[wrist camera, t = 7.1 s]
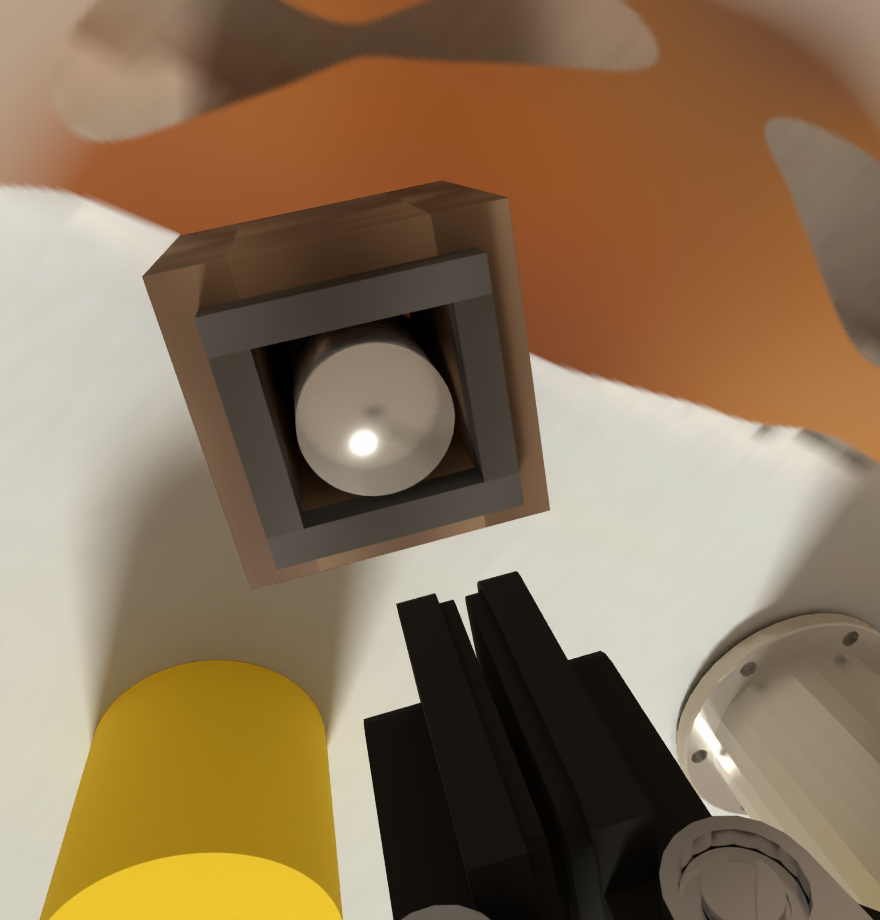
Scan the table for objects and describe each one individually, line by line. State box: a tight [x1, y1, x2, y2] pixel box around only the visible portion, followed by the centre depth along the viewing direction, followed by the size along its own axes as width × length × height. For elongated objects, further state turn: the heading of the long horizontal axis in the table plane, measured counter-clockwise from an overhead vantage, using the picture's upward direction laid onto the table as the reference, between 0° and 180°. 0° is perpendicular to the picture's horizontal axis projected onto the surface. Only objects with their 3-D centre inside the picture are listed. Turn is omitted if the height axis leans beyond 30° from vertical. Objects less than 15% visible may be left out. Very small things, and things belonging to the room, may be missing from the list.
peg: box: [289, 315, 455, 496], centre depth 22 cm, size 4×4×8 cm
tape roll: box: [40, 660, 343, 920], centre depth 29 cm, size 10×10×9 cm
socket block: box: [142, 181, 550, 590], centre depth 23 cm, size 9×9×9 cm
